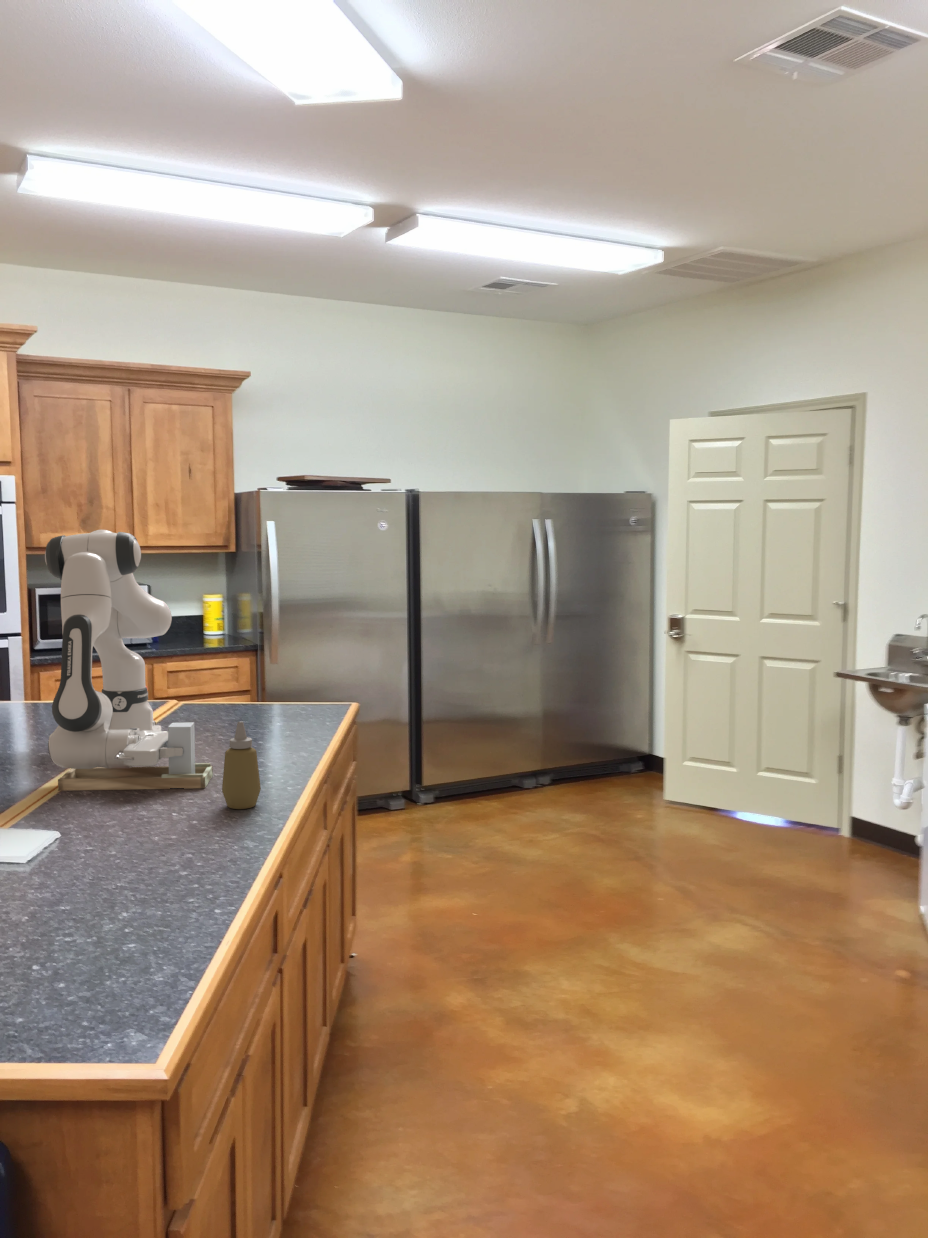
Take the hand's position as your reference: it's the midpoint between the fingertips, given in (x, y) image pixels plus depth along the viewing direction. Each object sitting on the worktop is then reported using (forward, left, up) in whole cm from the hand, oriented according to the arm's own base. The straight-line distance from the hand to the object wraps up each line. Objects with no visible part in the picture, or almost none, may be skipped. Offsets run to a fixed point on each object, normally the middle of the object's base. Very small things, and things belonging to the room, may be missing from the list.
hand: (185, 748), depth 228 cm
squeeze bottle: (+20, +15, -8) cm, 27 cm away
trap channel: (0, -11, -8) cm, 14 cm away
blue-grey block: (0, -1, -6) cm, 7 cm away
